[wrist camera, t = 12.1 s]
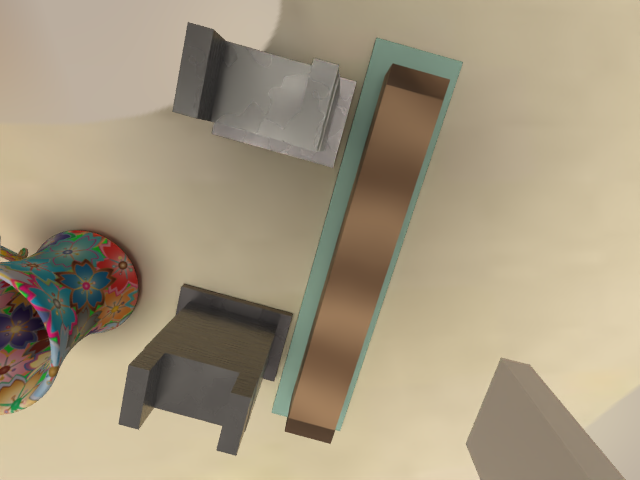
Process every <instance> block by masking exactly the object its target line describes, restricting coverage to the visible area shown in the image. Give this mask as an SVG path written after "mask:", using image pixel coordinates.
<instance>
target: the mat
mask: <svg viewBox="0 0 640 480" xmlns="http://www.w3.org/2000/svg"><path fill="white" fill-rule="evenodd" d="M392 63H394V64H397V65H401V66H404V67H408V68H411V69H415V70H418V71H422V72H425V73H429V74H432V75H436V76H440V77H443V78H447V79H450V82H449V85H448V88H447V91H446V94H445V97H444V100H443V103H442V107H441V110H440V113H439V116H438V119H437V122H436V125H435V128H434V131H433V134H432V137H431V140H430V143H429V146H428V149H427V152H426V155H425V158H424V161H423V164H422V167H421V170H420V173H419V176H418V179H417V182H416V186H415V189H414V192H413V195H412V198H411V201H410V204H409V207H408V210H407V213H406V216H405V219H404V222H403V225H402V228H401V231H400V234H399V237H398V240H397V243H396V246H395V249H394V252H393V255H392V258H391V261H390V265H389V268H388V271H387V274H386V277H385V280H384V283H383V286H382V289H381V292H380V295H379V298H378V301H377V304H376V307H375V310H374V313H373V316H372V319H371V322H370V325H369V328H368V331H367V334H366V337H365V340H364V344H363V347H362V350H361V353H360V356H359V359H358V362H357V365H356V368H355V371H354V374H353V377H352V380H351V383H350V386H349V389H348V392H347V395H346V398H345V401H344V404H343V407H342V410H341V413H340V416H339V419H338V423H337V426H336V429H335V430H338V431H340V429H341V426H342V423H343V420H344V417H345V414H346V411H347V408H348V405H349V402H350V399H351V396H352V393H353V390H354V387H355V384H356V381H357V378H358V375H359V372H360V369H361V366H362V363H363V360H364V357H365V354H366V351H367V348H368V345H369V342H370V339H371V336H372V333H373V330H374V327H375V324H376V321H377V318H378V315H379V312H380V309H381V306H382V303H383V300H384V297H385V294H386V291H387V288H388V285H389V282H390V279H391V276H392V273H393V270H394V267H395V264H396V261H397V259H398V256H399V253H400V250H401V247H402V244H403V241H404V238H405V235H406V232H407V229H408V226H409V223H410V220H411V217H412V214H413V211H414V208H415V205H416V202H417V199H418V196H419V193H420V190H421V187H422V184H423V181H424V178H425V175H426V172H427V169H428V166H429V163H430V160H431V157H432V154H433V151H434V148H435V145H436V142H437V139H438V136H439V133H440V130H441V127H442V124H443V121H444V118H445V115H446V112H447V109H448V106H449V103H450V100H451V97H452V94H453V91H454V88H455V85H456V82H457V79H458V76H459V73H460V70H461V67H462V64H463V62H461V61H457V60H454V59H450V58H447V57H443V56H440V55H436V54H433V53H429V52H426V51H422V50H419V49H415V48H411V47H408V46H404V45H401V44H397V43H394V42H390V41H387V40H383V39H380V38H376V42H375V45H374V49H373V52H372V56H371V59H370V63H369V67H368V70H367V74H366V77H365V81H364V84H363V88H362V91H361V95H360V99H359V102H358V106H357V109H356V113H355V116H354V120H353V124H352V127H351V131H350V134H349V138H348V141H347V145H346V149H345V152H344V156H343V159H342V163H341V166H340V170H339V174H338V177H337V181H336V184H335V188H334V191H333V195H332V199H331V202H330V206H329V209H328V213H327V216H326V220H325V223H324V227H323V231H322V234H321V238H320V241H319V245H318V248H317V252H316V256H315V259H314V263H313V266H312V270H311V273H310V277H309V281H308V284H307V288H306V291H305V295H304V298H303V302H302V306H301V309H300V313H299V316H298V320H297V323H296V327H295V331H294V334H293V338H292V341H291V345H290V348H289V352H288V355H287V359H286V363H285V366H284V370H283V373H282V377H281V380H280V384H279V388H278V391H277V395H276V398H275V402H274V405H273V409H272V413H275V414H278V415H282V416H286V417H288V412H289V407H290V401H291V397H292V393H293V390H294V386H295V383H296V380H297V376H298V373H299V369H300V366H301V362H302V359H303V355H304V352H305V349H306V345H307V342H308V338H309V335H310V331H311V328H312V324H313V321H314V318H315V314H316V311H317V307H318V304H319V300H320V297H321V294H322V290H323V287H324V283H325V280H326V276H327V273H328V269H329V266H330V263H331V259H332V256H333V252H334V249H335V245H336V242H337V238H338V235H339V232H340V228H341V225H342V221H343V218H344V214H345V211H346V208H347V204H348V201H349V197H350V194H351V190H352V187H353V183H354V180H355V177H356V173H357V170H358V166H359V163H360V159H361V156H362V152H363V149H364V146H365V142H366V139H367V135H368V132H369V128H370V125H371V122H372V118H373V115H374V111H375V108H376V104H377V101H378V97H379V94H380V91H381V87H382V84H383V80H384V77H385V74H386V73H387V71H388V70H389V68H390V66H391V65H392Z"/></svg>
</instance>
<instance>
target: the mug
mask: <svg viewBox="0 0 640 480" xmlns="http://www.w3.org/2000/svg"><path fill="white" fill-rule="evenodd" d="M27 256H28V249H26V248H23V249H22V250H20V252H19V254H17V253H15V252H13V251H11V250H9V249H7V248H5V247H3V246H1V245H0V257H2V258H5V259H7V260H9V261H10V262H0V415H3V414H10V413H13V412H17V411H20V410H22V409H25V408H27V407H29V406H31V405H32V404H34V403H35V402H37V401H38V400H39V399H40V398H41V397H43V396H44V394H45V393H46V392H47V391H48V390H49V388H50V387H51V386H52V384H53V382H54V380H55V378H56V376H57V373H58V371H59V368H60V366H61V364H62V362H63V360H64V359H65V357H66V355H67V354H68V353H69V351H70V350H71V349H72V348H73V347H74V346H75V345H76V344H77V343H78V342H79V341H80V340H81V339H83V338H84V337H86V336H88V335H89V334H92V333H102V332H106V331H109V330H112V329H114V328H116V327H118V326H119V325H121V324H122V323H123V322H124V321H125V320H126V319H127V318H128V317H129V316H130V314H131V313H132V311H133V309H134V307H135V305H136V302H137V298H138V280H137V275H136V272H135V270H134V267H133V265H132V263H131V261H130V260H129V258H128V257H127V255H126V254H125V253H124V252H123V251H122V250H121V249H120V248H119V247H118V246H117V245H116V244H115V243H113V242H112V241H110V240H109V239H107V238H105V237H103V236H101V235H99V234H96V233H93V232H88V231H80V230H74V231H66V232H62V233H59V234H57V235H55V236H53V237H51V238H50V239H48V240H47V241H46V242H45V243H43V244H42V246H41V247H40V248H39V249H38V251H37V252H36V253H35V254H33V255H31V256H29V257H27Z"/></svg>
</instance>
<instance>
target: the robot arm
mask: <svg viewBox="0 0 640 480" xmlns="http://www.w3.org/2000/svg"><path fill="white" fill-rule="evenodd" d="M0 241H1V236H0ZM466 446H467V448H468V450H469V453H470V455H471V458H472V460H473V463H474V465H475V468H476V470H477V472H478V475H479V477H480V480H625V478H624V477H623V476H622V475H621V474H620V473H619V471H618V470H617V469H616V468H615V466H614V465H613V464H612V463H611V462H610V461H609V459H608V458H607V457H606V456H605V454H604V453H603V452H602V451H601V450H600V448H599V447H598V446H597V445H596V444H595V442H593V440H592V439H591V438H590V436H589V435H588V434H587V433H586V432H585V430H584V429H583V428H582V427H581V426H580V424H579V423H578V422H577V421H576V420H575V418H574V417H573V416H572V415H571V414H570V412H569V411H568V410H567V409H566V408H565V406H564V405H563V404H562V403H561V402H560V400H559V399H558V398H557V397H556V396H555V394H554V393H553V392H552V391H551V390H550V388H549V387H548V386H547V385H546V384H545V382H544V381H543V380H542V379H541V378H540V376H539V375H538V374H537V373H536V372H535V370H534V369H533V368H532V367H531V366H530V365H529V364H525V363H521V362H517V361H512V360H508V359H504V358H501V359H500V361H499V364H498V366H497V369H496V371H495V374H494V376H493V378H492V381H491V383H490V386H489V388H488V391H487V393H486V396H485V398H484V400H483V403H482V405H481V408H480V410H479V413H478V415H477V417H476V420H475V422H474V425H473V427H472V430H471V432H470V434H469V437H468V439H467V442H466Z"/></svg>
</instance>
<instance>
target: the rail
mask: <svg viewBox="0 0 640 480" xmlns="http://www.w3.org/2000/svg"><path fill="white" fill-rule="evenodd" d="M449 82H450V79H447V78H443V77H440V76H436V75H432V74H429V73H425V72H422V71H418V70H415V69H411V68H408V67H404V66H401V65H397V64H394V63H392V65H391V66H390V68H389V70H388V71H387V73H386V74H385V77H384V80H383V84H382V87H381V91H380V94H379V97H378V101H377V104H376V108H375V111H374V115H373V118H372V122H371V125H370V128H369V132H368V135H367V139H366V142H365V146H364V149H363V152H362V156H361V159H360V163H359V166H358V170H357V173H356V177H355V180H354V183H353V187H352V190H351V194H350V197H349V201H348V204H347V208H346V211H345V214H344V218H343V221H342V225H341V228H340V232H339V235H338V238H337V242H336V245H335V249H334V252H333V256H332V259H331V263H330V266H329V269H328V273H327V276H326V280H325V283H324V287H323V290H322V294H321V297H320V300H319V304H318V307H317V311H316V314H315V318H314V321H313V324H312V328H311V331H310V335H309V338H308V342H307V345H306V349H305V352H304V355H303V359H302V362H301V366H300V369H299V373H298V376H297V380H296V383H295V386H294V390H293V393H292V397H291V401H290V407H289V412H288V417H287V422H286V427H285V432H289V433H292V434H296V435H300V436H304V437H307V438H311V439H315V440H318V441H322V442H326V443H330V444H331V441H332V438H333V435H334V432H335V429H336V426H337V423H338V419H339V416H340V413H341V410H342V407H343V404H344V401H345V398H346V395H347V392H348V389H349V386H350V383H351V380H352V377H353V374H354V371H355V368H356V365H357V362H358V359H359V356H360V353H361V350H362V347H363V344H364V340H365V337H366V334H367V331H368V328H369V325H370V322H371V319H372V316H373V313H374V310H375V307H376V304H377V301H378V298H379V295H380V292H381V289H382V286H383V283H384V280H385V277H386V274H387V271H388V268H389V265H390V261H391V258H392V255H393V252H394V249H395V246H396V243H397V240H398V237H399V234H400V231H401V228H402V225H403V222H404V219H405V216H406V213H407V210H408V207H409V204H410V201H411V198H412V195H413V192H414V189H415V186H416V182H417V179H418V176H419V173H420V170H421V167H422V164H423V161H424V158H425V155H426V152H427V149H428V146H429V143H430V140H431V137H432V134H433V131H434V128H435V125H436V122H437V119H438V116H439V113H440V110H441V107H442V103H443V100H444V97H445V94H446V91H447V88H448V85H449Z"/></svg>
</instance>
